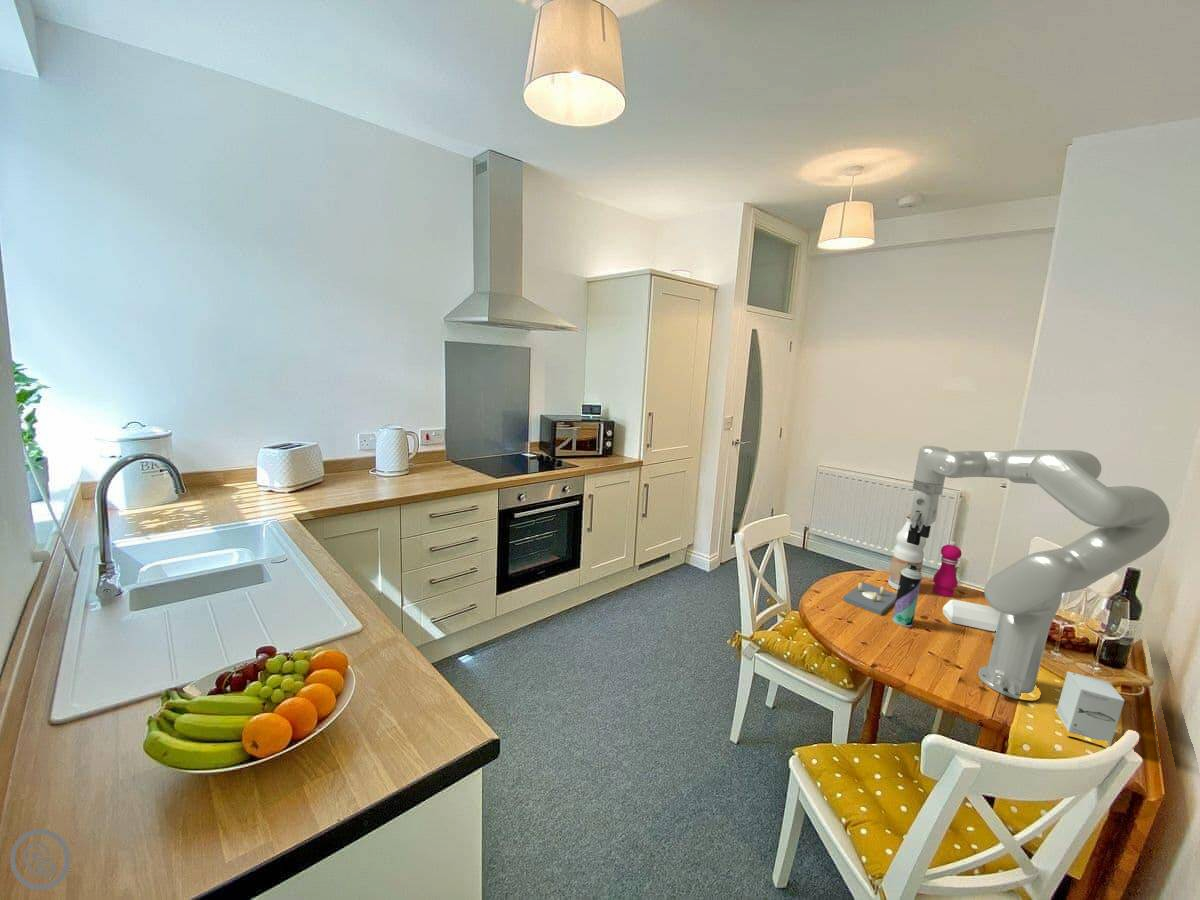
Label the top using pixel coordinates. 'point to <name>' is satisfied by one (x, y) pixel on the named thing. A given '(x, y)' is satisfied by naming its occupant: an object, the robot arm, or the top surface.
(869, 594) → the pin board
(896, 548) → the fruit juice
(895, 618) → the spray can
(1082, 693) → the supplement box
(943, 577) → the pepper mill
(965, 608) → the white long bar
